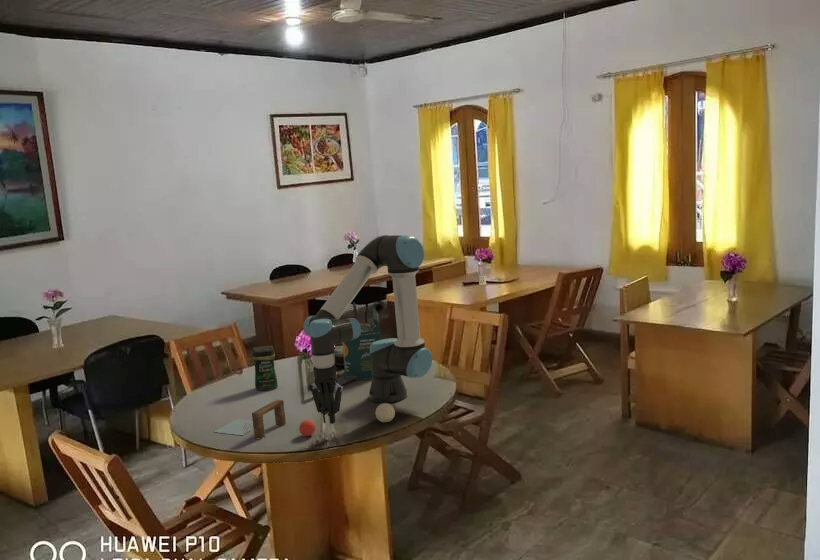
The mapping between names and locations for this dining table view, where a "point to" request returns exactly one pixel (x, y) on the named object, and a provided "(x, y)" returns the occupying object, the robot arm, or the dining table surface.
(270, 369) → the coffee jar
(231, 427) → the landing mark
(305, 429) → the ball
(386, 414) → the baseball
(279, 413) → the bridge
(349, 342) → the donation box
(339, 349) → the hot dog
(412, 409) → the dining table surface
